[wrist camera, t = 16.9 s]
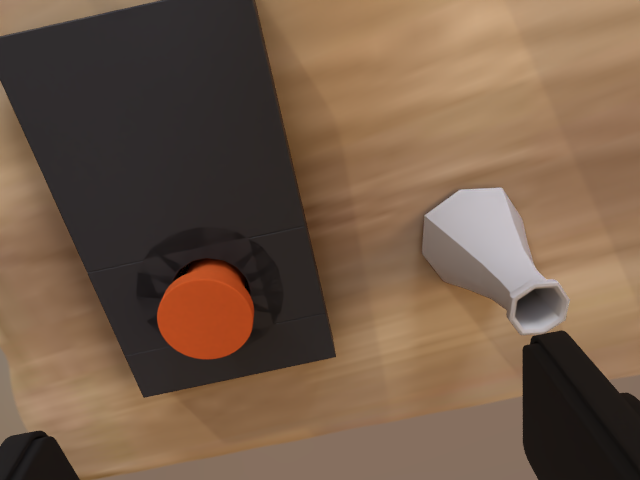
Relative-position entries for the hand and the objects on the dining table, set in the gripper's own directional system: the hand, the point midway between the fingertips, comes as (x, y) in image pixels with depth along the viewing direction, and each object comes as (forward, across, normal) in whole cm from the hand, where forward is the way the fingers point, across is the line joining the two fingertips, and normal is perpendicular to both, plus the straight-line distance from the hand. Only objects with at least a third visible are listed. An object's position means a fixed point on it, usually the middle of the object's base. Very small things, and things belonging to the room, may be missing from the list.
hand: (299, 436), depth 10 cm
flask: (+23, -11, +9) cm, 27 cm away
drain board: (+23, +7, +3) cm, 24 cm away
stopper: (+23, +7, +8) cm, 25 cm away
